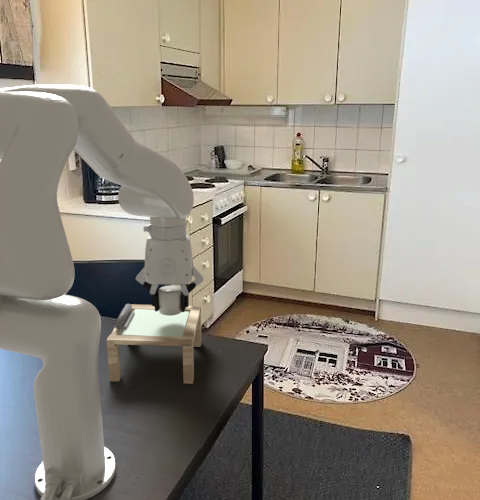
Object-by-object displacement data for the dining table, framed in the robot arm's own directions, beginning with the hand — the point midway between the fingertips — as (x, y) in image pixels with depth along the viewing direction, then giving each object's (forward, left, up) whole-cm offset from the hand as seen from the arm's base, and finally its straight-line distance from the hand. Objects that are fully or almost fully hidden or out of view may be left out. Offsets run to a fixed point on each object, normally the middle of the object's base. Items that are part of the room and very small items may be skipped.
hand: (170, 308), depth 112 cm
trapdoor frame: (0, +3, -13) cm, 14 cm away
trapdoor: (0, +4, -5) cm, 6 cm away
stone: (0, 0, 0) cm, 0 cm away
